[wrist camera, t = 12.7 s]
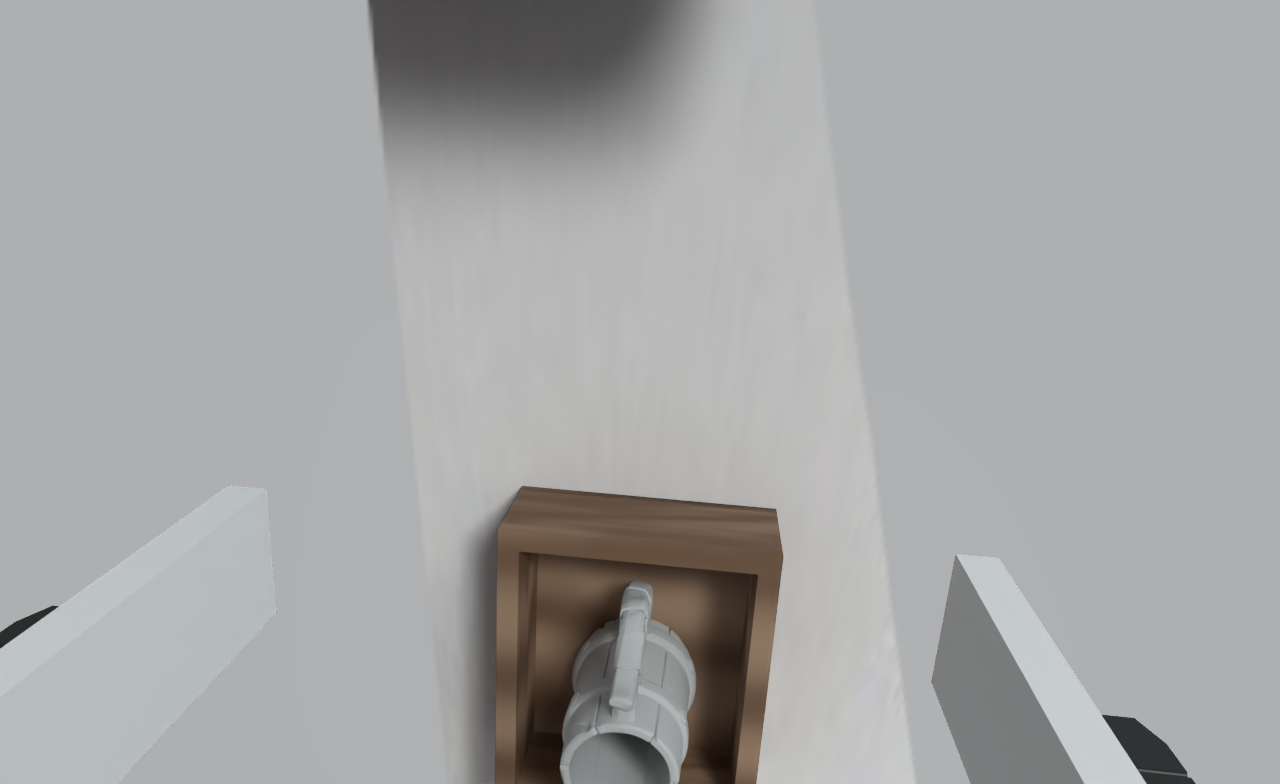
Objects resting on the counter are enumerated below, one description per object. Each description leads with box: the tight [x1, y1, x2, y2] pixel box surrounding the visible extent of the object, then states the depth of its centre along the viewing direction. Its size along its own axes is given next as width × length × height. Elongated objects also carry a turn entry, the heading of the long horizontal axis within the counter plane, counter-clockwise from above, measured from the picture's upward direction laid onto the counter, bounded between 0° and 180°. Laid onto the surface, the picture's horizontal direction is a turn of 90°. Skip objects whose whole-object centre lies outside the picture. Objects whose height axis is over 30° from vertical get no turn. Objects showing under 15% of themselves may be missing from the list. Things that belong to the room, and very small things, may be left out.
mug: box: [560, 580, 696, 784], centre depth 47 cm, size 8×12×12 cm, turn 177°
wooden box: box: [495, 486, 783, 784], centre depth 50 cm, size 18×15×6 cm
